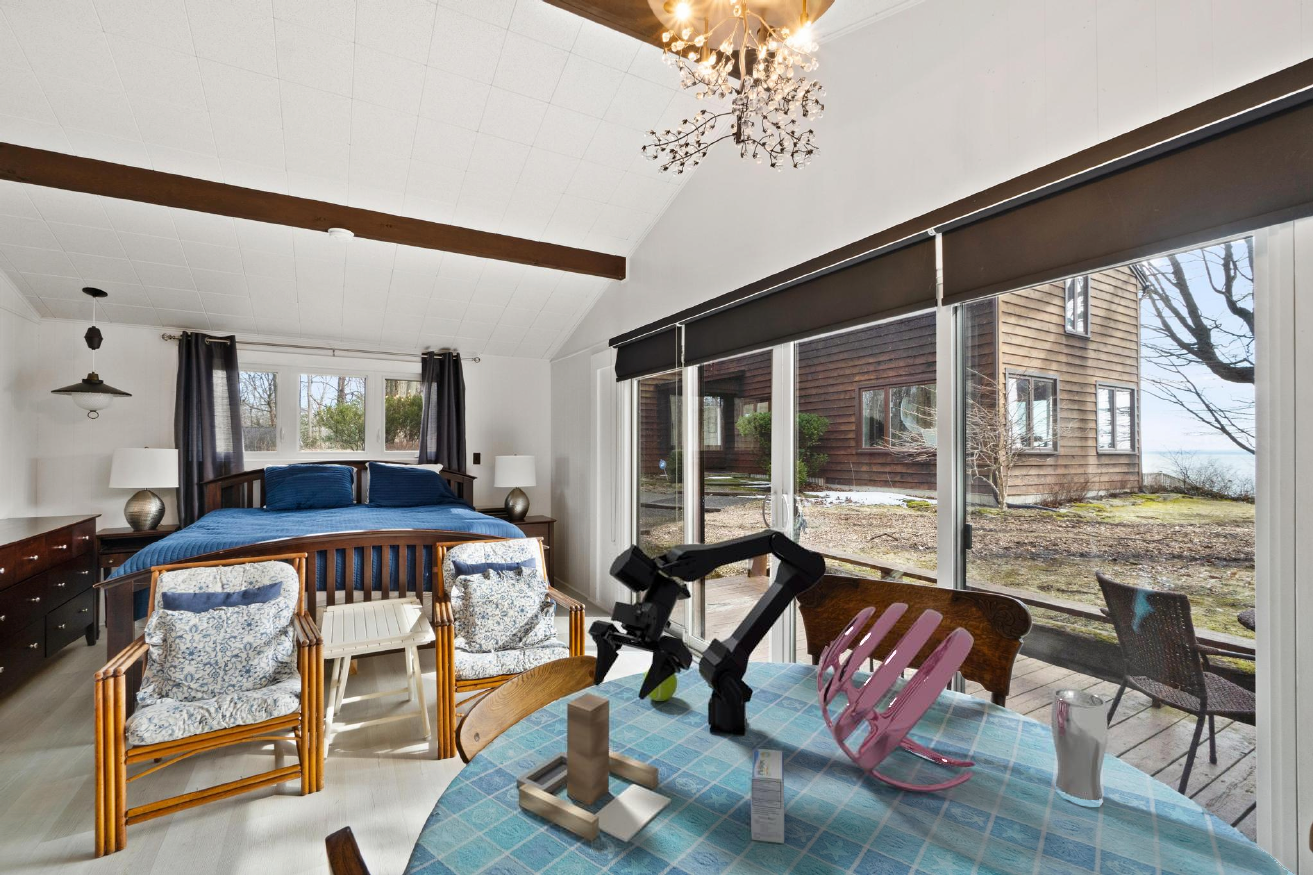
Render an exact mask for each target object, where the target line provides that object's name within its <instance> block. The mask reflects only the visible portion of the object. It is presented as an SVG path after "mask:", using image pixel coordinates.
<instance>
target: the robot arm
mask: <svg viewBox="0 0 1313 875" xmlns="http://www.w3.org/2000/svg"><path fill="white" fill-rule="evenodd" d="M769 554H771V555H773V556H774V558H776V559H777V560H779V564H778V566H777V570H776V574H775V579H774V580H773V582H772V583H771V585H769V587H768V588H767V589H766V591H765V592H764V593H763V595H762V596H761V597H760V599H758V601H757V602H756V603H755V605H753V607H752V608H751V610H750V611H749V613H747V615H746V616H745V617H744V618H743V620H742V621H741V622H740V624H739V625H738V626H737V627H736V629H735V630H734V631H733V633H731V635H730V636H729V637H727V638H726V639H724V640H722V641H720V640H719V639H718V638H716V637H714V638H713V639H712V640H711V642H710V643H709V645H708V646H707V648H706V649H705V650H704V651H702V652H701V653H700V655H701V658H700V660H699V663H698V671H699V675H700V677H701V678H702V679H703V680H704V681H705V682H706V683H707V686H708V688H710V689H711V690H712V692H711V696H710V697H709V700H708V703H707V724H708V726H709V733H711V734H718V735H726V736H727V735H728V736H738V737H746V732H747V724H748V719H747V703H749V702H751V698H752V696H753V692H754V691H753V688H751V687H750V686H749V685H748V684H747V683H746V682H744V680H743V678H744V676H745V674H746V673H747V669H748V665H749V660H750V656H751V654H752V653H753V651H754V650H755V648H757V647H758V645H759V644H760V643H761V641H762V640H763V639H764V637H766V635H768V633H769V631H770V630H771V628H772V627H773V626H774V624H776V623H777V621H778V620H779V618H780V617H781V615H782V614H783V613H784V612H785V611H786V609H788V608H789V606H790V604H791V603H792V602H793V600H794V599H795V597H797V596H799V595H801V594H802V593H804V592H806V591H808V590H811V589H812V588H813V587H814V586H815V585H816V584H817V583H818V582H819V581H820V580H822V578H824V576H825V574H826V573H827V568H826V566H827V565H826V560H825V558H824V556H823V555H822V554H821V553H819V552H817V551H815V550H814V551H813V550H810V549H808V548H805V547H803V546H802V545H800V544H798V543H797V542H795V541H794V540H792V539H791V538H789V537H788V536H786V534H785V533H783V532H782V531H779V530H775V529H771V528H766V529H765V530H762V531H759V532H755V533H751V534H746V535H743V536H739V537H734V538H730V539H727V540H722V541H719V542H715V543H708V544H707V543H706V544H702V543H701V544H700V543H689V544H688V543H686V544H685V543H684V544H676V545H673V546H672V547H670V548H669V550H668V551H667V552H665V553H663V554H659V555H657V556H653V557H649V555H647V554H646V553H645V552H643V550H642V549H641V548H640V547H639V546H638V545H636V544H634V543H633V544H631V545H630V546H629V548H627V549H625V550H624V551H622V552H621V554H620V555H617V556H616V558H615V559H614V560H613V562H612V564H611V567H610V568H609V575H610V576H611V577H613V578H614V579H615V580H616V581H617V582H619V583H621V584H622V585H623V586H624V587H626V588H627V589H629V591H631V592H632V593H634V594H637V593H639V592H641V593H644V592H645V593H644V594H643V597H642V599H641V601H640V602H638V601H636V602H634V603H633V604H630V603H626V602H621V601H615V603H614V607H613V611H612V614H611V618H610V621H612V622H618V623H621V624H620V627H621V629H622V630H625V631H626V632H625V633H624V632H621V631H620V630H619V629H618V628H617V626H616V625H615V624H614V623H612V622H608V621H604V620H599V619H597V620H595V621H593V622H592V623H591V625H590V627H589V629H588V631H587V633H588V634H589V635H590V636H591V639H592V641H593V643H595V645H596V651H597V652H596V663H595V669H594V670H595V671H594V678H593V684H594V685H595V686H597V687H599V686H600V684H601V683H602V682H603V681H604V679H605V678H606V676H607V674H608V673H609V672H610V670H611V668H612V666H613V665H614V664H615V662H616V660H617V659H618V657H619V656H620V655H619V654H620V653H618V651H619V650H622V648H623V646H625V647H629V648H633V649H637V650H641V651H645V652H650V653H652V659H651V664H650V666H649V671H648V670H647V671H648V673H647V675H646V678H645V680H644V679H643V680H644V682H642V685H641V687H640V690H639V693H638V698H639V699H640V700H644V699H646V698H647V697H649V696H648V695H649V694H650V693H651V692H652V691H653V690H654V689H655V688H657V687H658V686H659V685H660V684H661V683H662V682H664V681H665V680H666V679H668V678H669V677H670V676H672V675H673V674H674V673H675V674H680V673H681V672H682V670H684V671H685V670H686V671H689V670H690V668H691V665H692V662H693V661H694V660H693V659H694V658H693V653H692V650H690V648H689V647H688V645H687V644H686V643H685V641H683V639H682V638H678V637H674V636H671V635H666V634H665V635H663V632H664V631H665V629H670V627H671V625H672V623H671V621H670V617H671V615H672V612H673V610H674V607H675V606H676V603H677V601H682V600H688V599H691V597H692V594H691V592H690V590H689V588H688V585H687V583H693V582H695V581H698V580H701V579H702V578H705V577H707V576H709V575H710V574H711V573H713V572H714V571H715V570H716V569H718V568H721V567H724V566H728V565H731V564H735V563H738V562H742V561H746V560H750V559H753V558H757V557H762V556H766V555H769ZM663 574H664V575H663ZM675 578H678V579H679V580H681V581H682V582H686V583H682V584H681V583H680V582H678V581H677V580H676V579H675Z"/></svg>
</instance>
